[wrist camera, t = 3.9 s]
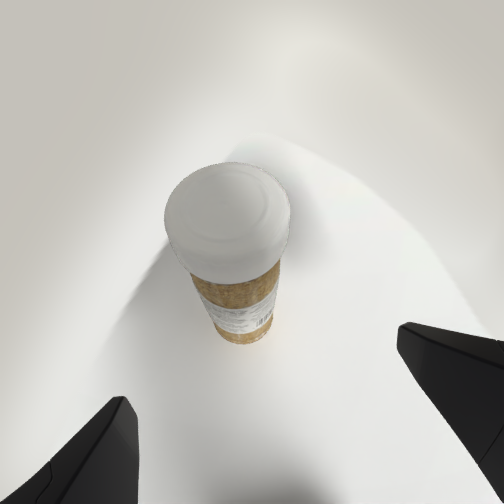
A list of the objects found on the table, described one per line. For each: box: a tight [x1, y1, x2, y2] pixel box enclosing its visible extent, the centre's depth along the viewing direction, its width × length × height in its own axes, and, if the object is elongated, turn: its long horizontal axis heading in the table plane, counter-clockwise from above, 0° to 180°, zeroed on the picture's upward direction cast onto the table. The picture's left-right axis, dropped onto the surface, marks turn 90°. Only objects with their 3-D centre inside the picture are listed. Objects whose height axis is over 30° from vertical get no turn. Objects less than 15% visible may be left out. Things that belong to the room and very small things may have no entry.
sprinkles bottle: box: [164, 163, 291, 344], centre depth 16 cm, size 5×5×13 cm
